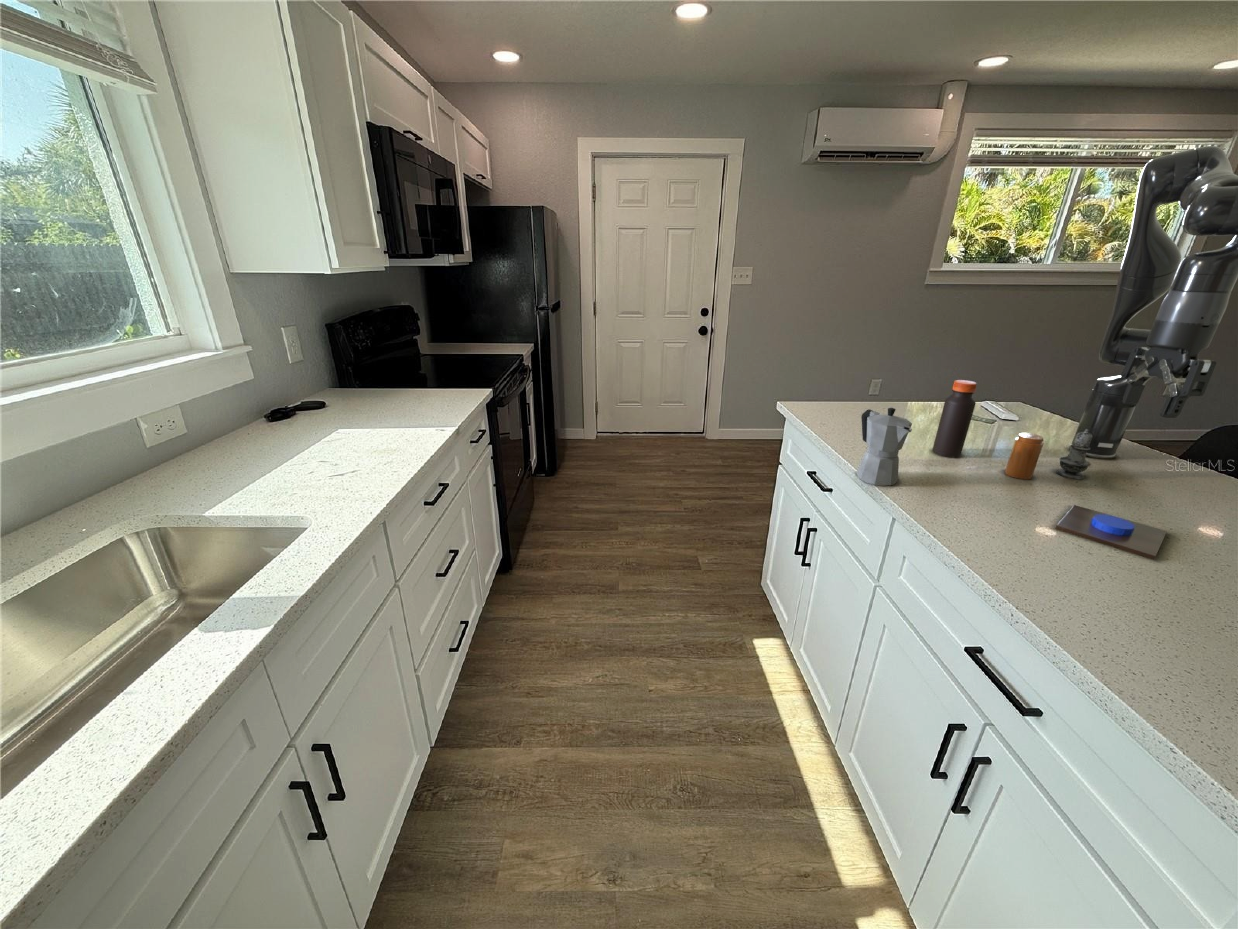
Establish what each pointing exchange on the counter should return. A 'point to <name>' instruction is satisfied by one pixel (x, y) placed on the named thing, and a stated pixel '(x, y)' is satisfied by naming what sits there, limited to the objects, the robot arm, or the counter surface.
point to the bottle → (955, 420)
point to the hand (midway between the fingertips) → (1147, 410)
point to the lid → (1113, 525)
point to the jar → (1024, 456)
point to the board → (1139, 542)
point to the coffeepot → (882, 446)
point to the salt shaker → (1076, 457)
